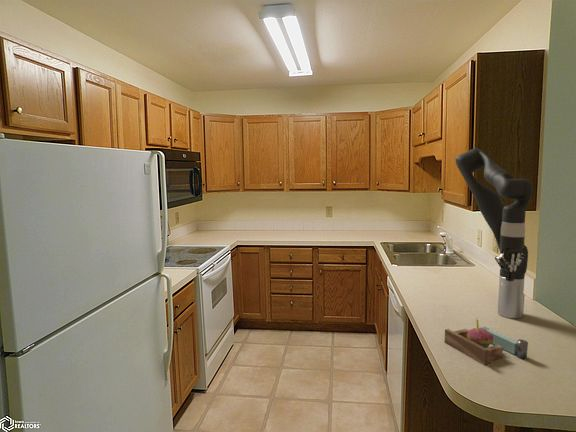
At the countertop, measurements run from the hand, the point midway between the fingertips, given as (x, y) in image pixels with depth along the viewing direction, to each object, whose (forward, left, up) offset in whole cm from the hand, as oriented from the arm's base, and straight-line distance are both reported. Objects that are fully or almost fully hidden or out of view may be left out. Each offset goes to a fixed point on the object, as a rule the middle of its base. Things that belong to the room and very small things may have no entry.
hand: (509, 280), depth 137 cm
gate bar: (+7, +2, -23) cm, 24 cm away
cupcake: (+14, +1, -23) cm, 27 cm away
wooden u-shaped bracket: (+18, +1, -23) cm, 29 cm away
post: (+6, +11, -23) cm, 26 cm away
